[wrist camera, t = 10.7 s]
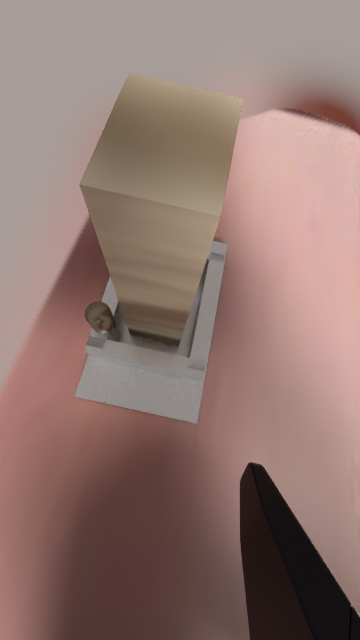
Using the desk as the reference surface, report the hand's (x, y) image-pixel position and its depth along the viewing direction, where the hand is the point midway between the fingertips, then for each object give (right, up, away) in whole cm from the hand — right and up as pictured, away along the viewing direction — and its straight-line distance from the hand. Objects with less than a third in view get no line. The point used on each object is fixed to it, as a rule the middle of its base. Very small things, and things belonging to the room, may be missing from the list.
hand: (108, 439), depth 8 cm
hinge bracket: (+1, +4, +12) cm, 13 cm away
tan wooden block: (+1, +4, +11) cm, 12 cm away
